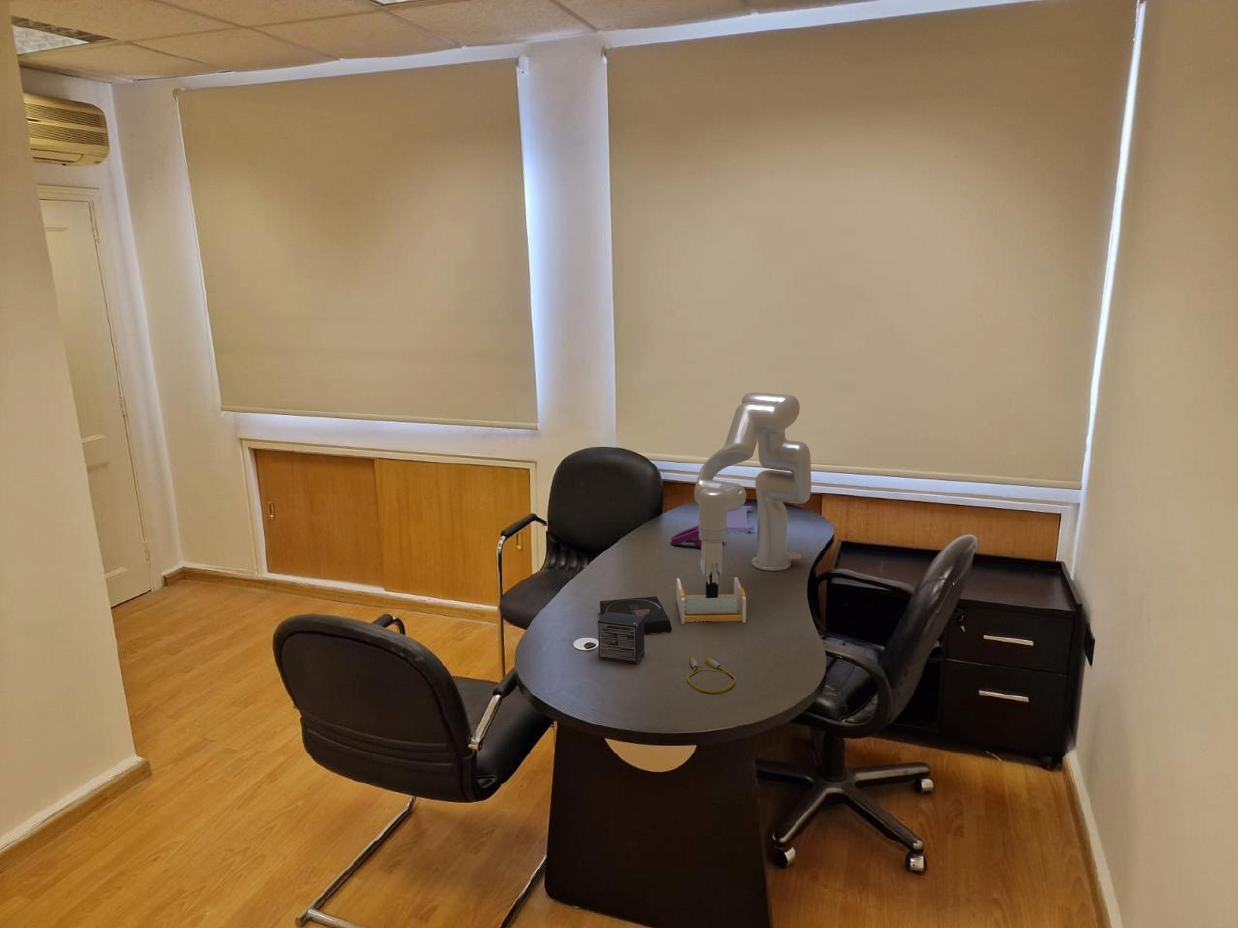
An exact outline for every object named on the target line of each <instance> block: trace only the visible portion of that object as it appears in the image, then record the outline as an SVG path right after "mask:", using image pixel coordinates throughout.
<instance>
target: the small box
mask: <svg viewBox="0 0 1238 928" xmlns="http://www.w3.org/2000/svg"><path fill="white" fill-rule="evenodd" d="M597 627H598V629H597V630H598V637H597V638H598V659H599V660H605V661H614V662H620V663H628V664H636V665H638V664H639V662H640V661H641V659H642V658H643V657H644V655H645V635H644V616H638V615H630V614H622V613H613V612H605V613H604V614H603V615H602V616H601V615H600V617H599V619H598V620H597Z"/></svg>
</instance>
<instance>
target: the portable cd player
mask: <svg viewBox="0 0 1238 928" xmlns="http://www.w3.org/2000/svg"><path fill="white" fill-rule="evenodd" d="M605 612H613V613H622V614H630V615H638V616H644V634H645V635H652V634H651V633H656V634H662V633H661V632H667V633H671V632H672V630H673V628H672V623H671V620H670V617H669V616H668V614H667V613H666V611H665V609H664V606H663V605H662V604H661V602H660V600H659V598H658V596H646V597H645V596H644V597H643V596H642V597H634V598H633V597H632V598H620V599H607V600H599V613H600V617H601V616H602V615H603V614H604V613H605Z"/></svg>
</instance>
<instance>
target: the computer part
mask: <svg viewBox="0 0 1238 928" xmlns="http://www.w3.org/2000/svg"><path fill="white" fill-rule="evenodd" d="M752 510H753V506H751V505H743V506H742V507H741V508H739V509H737V510H735V511H730V512H727V534H729V533H732V532H733V533H736V532H737V533H748V534H749V531H755V526H752V525H751V526H750V525H749V521H748V511H752Z"/></svg>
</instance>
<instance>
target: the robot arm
mask: <svg viewBox="0 0 1238 928" xmlns="http://www.w3.org/2000/svg"><path fill="white" fill-rule="evenodd" d="M800 409H801V408H800V402H799V400H798V398H797V397H796V396H794V395H790V394H784V393H783V394H781V393H768V392H767V393H766V392H749V393H746V394H744V395H743V397H742V399H741V404H740V405H738V406H737V407H736V410H735V412H734V416H733V418H732V422H731V425H730V428H729V431H728V434H727V436H726V439H725V440H726V441H725V444H724V445H723V447H722V448H720V449H719V450H717V451H715V453H712V455H711V456H710V457H709V458H708V459H707V460H706V461H705V463H704V464H703V465H702V466H701V468H700V470H699V473H698V477H697V480H696V481H695V482H696V484H695V485H694V486H695V487H694V493H693V496H694V500H695V502H696V503H697V504H698V525H699V539H700V540H701V541H702V544H701V548H700V569H701V573H702V576H703V577H705V578H706V582H705V595H706V597H707V598H711V597H718V595H719V578H720V577H721V576H722V575H723V574H722V573H723V542H725V541H726V540H727V534H728V533H727V512H730V511H735V510H737V509H739V508H741V507H742V506H744V505H745V503H746V500H747V491H746V489H745V487H744V486H743V485H741V484H739V483H735V482H726V481H721V480H714V478H715V476H716V475H717V474H718V473H719V472H720V471H723V470H724V469H726V468H728V467H731V466H733V465H736V464H739V463H742V462H745V461H748V460H751V458H752V457H753V456H754V454H755V450H756V447H757V450H758V451H757V452H758V454H757V455H758V460H759V463H760V466H762V467H763V468H765V469H767V470H762V471H761V472H759V473H758V474H757V475H756V477H755V481H754V483H755V484H754V485H755V493H756V500H757V526H756V527H757V531H756V536H757V537H756V556H754V557H753V558H752V559H751V565H752V566H753V567H754V568H756V569H759V570H763V571H770V572H776V571H777V572H778V571H784V570H788V569H789V568H790V567H791V565H792V563H791V561H801V560H802V554H801V553H796V552H795V551H794V552H793V551H791V552H788V550H787V548H788V547H787V546H788V545H787V543H788V542H787V541H788V540H787V539H788V510H787V508H786V506H785V504H784V503H792V504H799V505H800V504H805V503H807V501H809V500H810V497H811V493H812V468H811V467H812V464H811V450H810V449H809V446H808V445H807V444H806V443H805V442H803V441H799V440H798V441H796V440H789V439H787V438H786V431H785V430H786V429H787V428H789V427H790V426H791V425H793V424H794V423H795V422H796V420H797V419H798V418H799V414H800Z"/></svg>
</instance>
